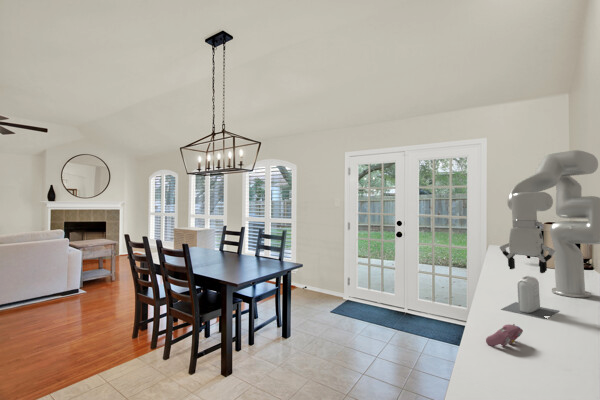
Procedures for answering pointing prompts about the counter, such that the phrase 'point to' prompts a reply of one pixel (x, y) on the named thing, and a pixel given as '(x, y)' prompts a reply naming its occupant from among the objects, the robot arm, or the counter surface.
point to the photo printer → (528, 294)
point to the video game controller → (504, 335)
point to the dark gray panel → (538, 313)
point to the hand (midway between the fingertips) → (527, 270)
